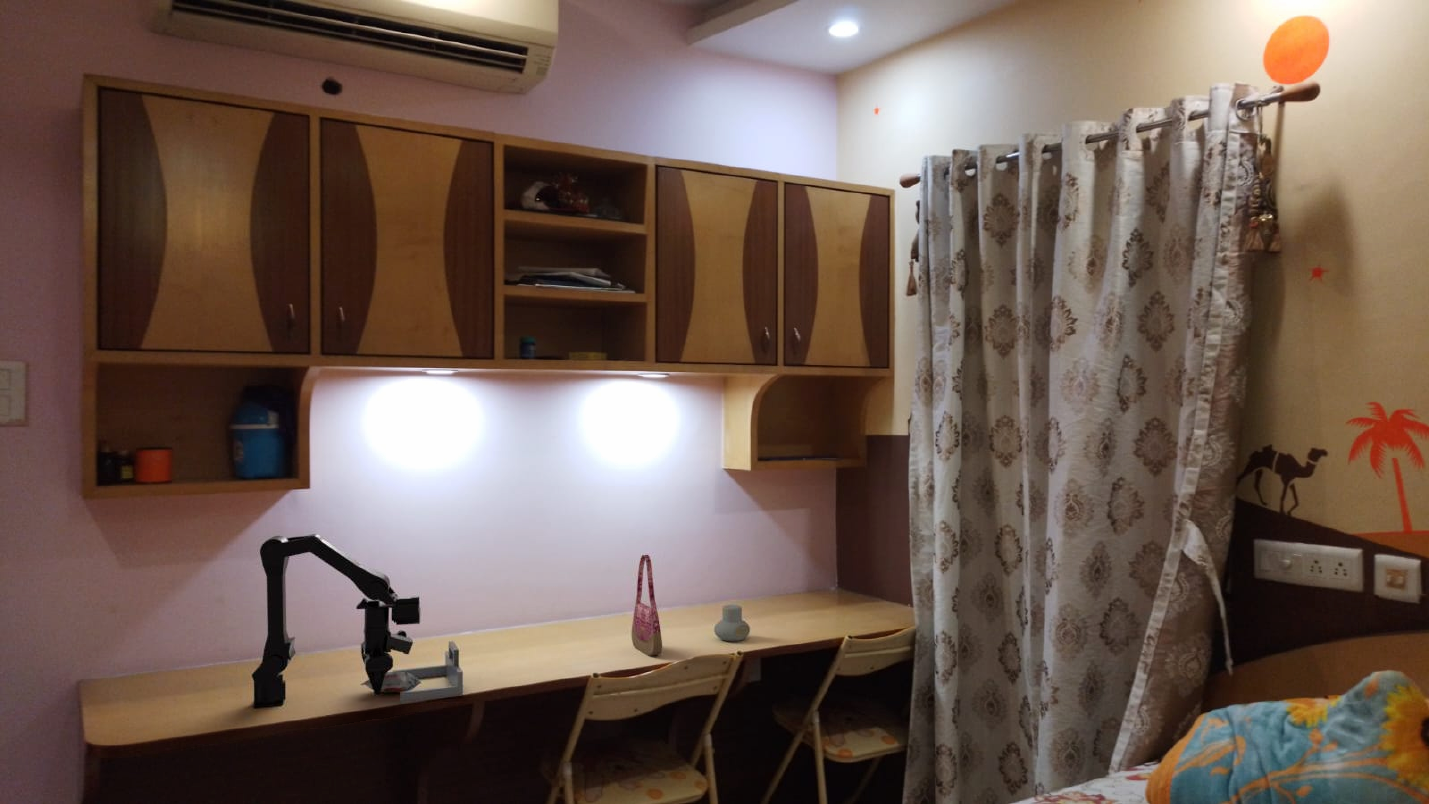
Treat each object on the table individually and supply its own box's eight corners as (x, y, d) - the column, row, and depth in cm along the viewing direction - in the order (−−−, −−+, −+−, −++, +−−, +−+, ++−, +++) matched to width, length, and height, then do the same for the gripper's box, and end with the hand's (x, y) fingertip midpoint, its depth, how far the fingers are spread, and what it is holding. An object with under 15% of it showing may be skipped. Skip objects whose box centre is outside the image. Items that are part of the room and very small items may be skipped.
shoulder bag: (630, 645, 284) (630, 551, 284) (640, 644, 285) (640, 550, 285) (653, 659, 269) (653, 559, 269) (662, 657, 270) (662, 559, 270)
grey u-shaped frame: (400, 703, 229) (400, 662, 229) (392, 680, 248) (392, 641, 248) (462, 696, 235) (462, 655, 235) (449, 673, 254) (449, 636, 254)
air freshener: (734, 634, 298) (734, 602, 298) (754, 638, 292) (754, 606, 292) (709, 640, 290) (709, 607, 290) (729, 645, 284) (729, 611, 284)
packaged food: (404, 691, 230) (406, 670, 232) (359, 692, 232) (361, 671, 234) (421, 692, 238) (422, 671, 240) (377, 693, 240) (379, 673, 242)
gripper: (415, 631, 230) (414, 696, 230) (406, 615, 247) (406, 675, 247) (366, 635, 225) (365, 701, 225) (360, 618, 242) (360, 680, 242)
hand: (376, 689), depth 235 cm, fingers open, 9 cm apart
